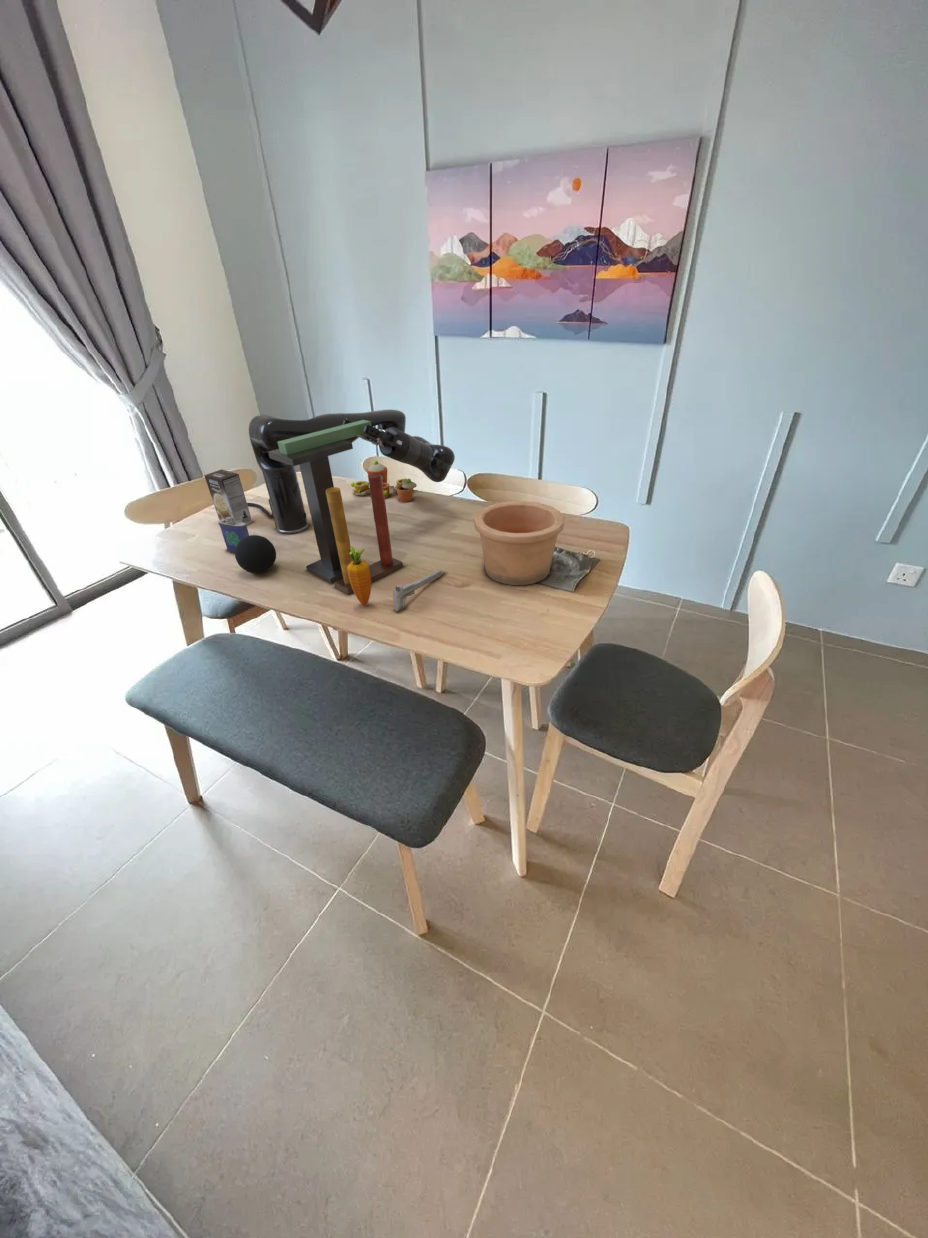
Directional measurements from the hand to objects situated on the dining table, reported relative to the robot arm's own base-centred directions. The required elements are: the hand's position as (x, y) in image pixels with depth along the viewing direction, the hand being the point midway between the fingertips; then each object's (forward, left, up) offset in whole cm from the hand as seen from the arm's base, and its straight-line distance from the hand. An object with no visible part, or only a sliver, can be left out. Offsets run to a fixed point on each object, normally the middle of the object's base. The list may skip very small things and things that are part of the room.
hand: (354, 426), depth 120 cm
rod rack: (+9, -12, -34) cm, 37 cm away
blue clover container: (-35, -18, -34) cm, 52 cm away
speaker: (-20, -23, -34) cm, 46 cm away
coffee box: (-54, -5, -34) cm, 64 cm away
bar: (-1, -8, -2) cm, 8 cm away
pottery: (+40, +10, -34) cm, 54 cm away
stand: (-2, -13, -34) cm, 36 cm away
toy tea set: (-26, +39, -34) cm, 58 cm away
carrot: (+17, -23, -34) cm, 44 cm away
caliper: (+25, -11, -34) cm, 44 cm away
